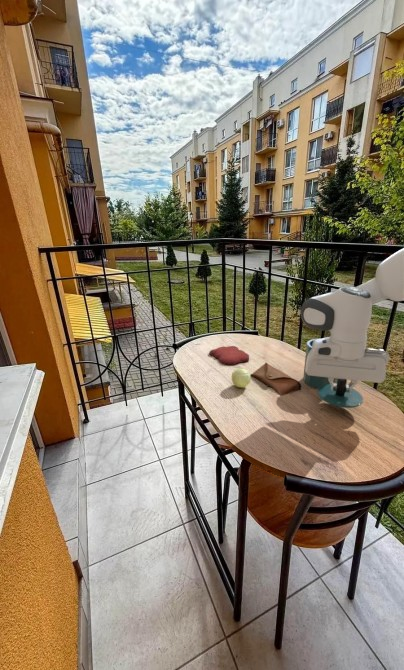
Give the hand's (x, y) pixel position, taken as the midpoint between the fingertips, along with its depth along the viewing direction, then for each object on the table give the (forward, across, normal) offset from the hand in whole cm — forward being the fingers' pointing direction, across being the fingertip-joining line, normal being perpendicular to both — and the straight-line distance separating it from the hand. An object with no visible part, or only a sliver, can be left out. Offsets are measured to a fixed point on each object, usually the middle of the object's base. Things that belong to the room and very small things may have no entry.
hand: (340, 390), depth 82 cm
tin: (+6, +4, -15) cm, 17 cm away
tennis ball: (+6, +30, -5) cm, 31 cm away
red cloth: (+6, +40, -29) cm, 50 cm away
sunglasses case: (+6, +20, -11) cm, 23 cm away
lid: (+2, 0, 0) cm, 2 cm away
